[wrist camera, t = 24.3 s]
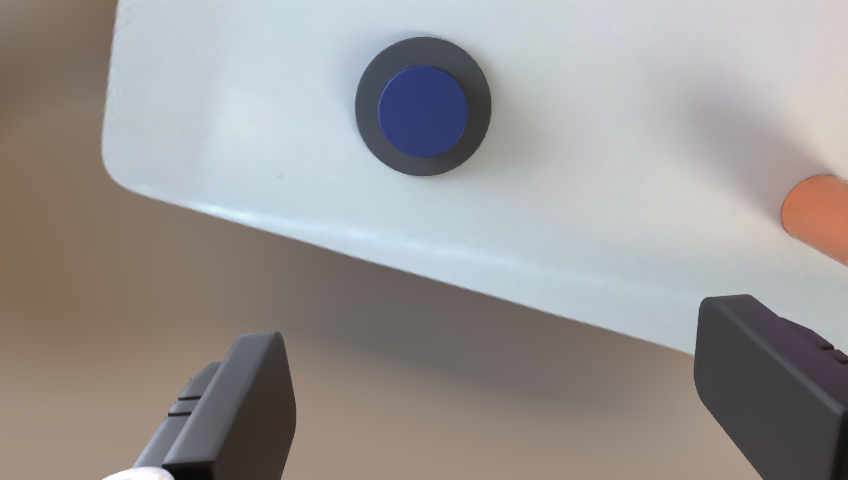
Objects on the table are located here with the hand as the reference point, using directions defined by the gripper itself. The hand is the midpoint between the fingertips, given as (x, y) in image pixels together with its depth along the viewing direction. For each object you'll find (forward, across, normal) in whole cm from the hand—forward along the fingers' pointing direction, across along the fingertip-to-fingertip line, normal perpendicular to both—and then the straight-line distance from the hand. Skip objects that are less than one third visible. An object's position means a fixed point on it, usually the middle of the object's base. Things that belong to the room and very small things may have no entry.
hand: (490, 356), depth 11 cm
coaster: (+29, +1, -2) cm, 29 cm away
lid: (+27, +1, -1) cm, 27 cm away
